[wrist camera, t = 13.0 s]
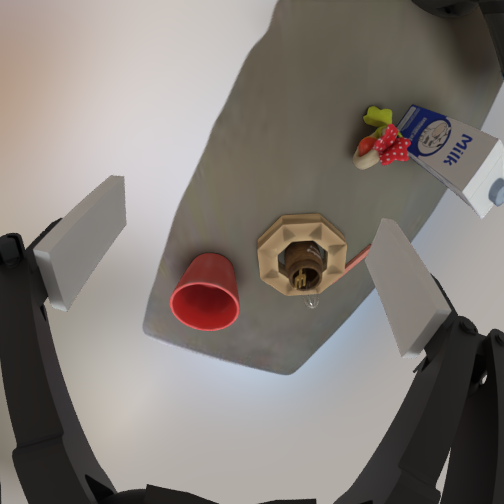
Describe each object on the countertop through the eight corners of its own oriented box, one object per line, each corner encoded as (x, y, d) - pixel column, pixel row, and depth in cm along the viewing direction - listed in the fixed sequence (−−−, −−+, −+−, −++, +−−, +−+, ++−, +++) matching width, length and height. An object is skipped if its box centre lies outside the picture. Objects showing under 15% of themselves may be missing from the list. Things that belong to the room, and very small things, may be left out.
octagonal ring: (299, 197, 44) (302, 205, 42) (357, 247, 49) (362, 258, 46) (242, 255, 51) (241, 266, 48) (301, 295, 55) (302, 306, 53)
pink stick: (370, 243, 48) (371, 246, 48) (372, 246, 49) (374, 249, 48) (328, 279, 53) (329, 281, 52) (331, 281, 53) (332, 284, 52)
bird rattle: (371, 156, 42) (412, 122, 35) (374, 205, 36) (427, 167, 29) (341, 132, 40) (381, 93, 33) (339, 177, 34) (392, 132, 27)
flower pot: (247, 290, 55) (245, 329, 47) (191, 294, 56) (181, 332, 48) (237, 241, 49) (232, 279, 41) (175, 248, 50) (159, 285, 42)
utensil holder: (293, 271, 52) (298, 322, 42) (277, 244, 49) (279, 294, 39) (324, 258, 50) (336, 308, 40) (309, 230, 47) (320, 278, 37)
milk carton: (412, 103, 34) (501, 138, 18) (441, 131, 36) (526, 180, 20) (387, 138, 38) (462, 193, 22) (416, 164, 40) (491, 229, 23)
